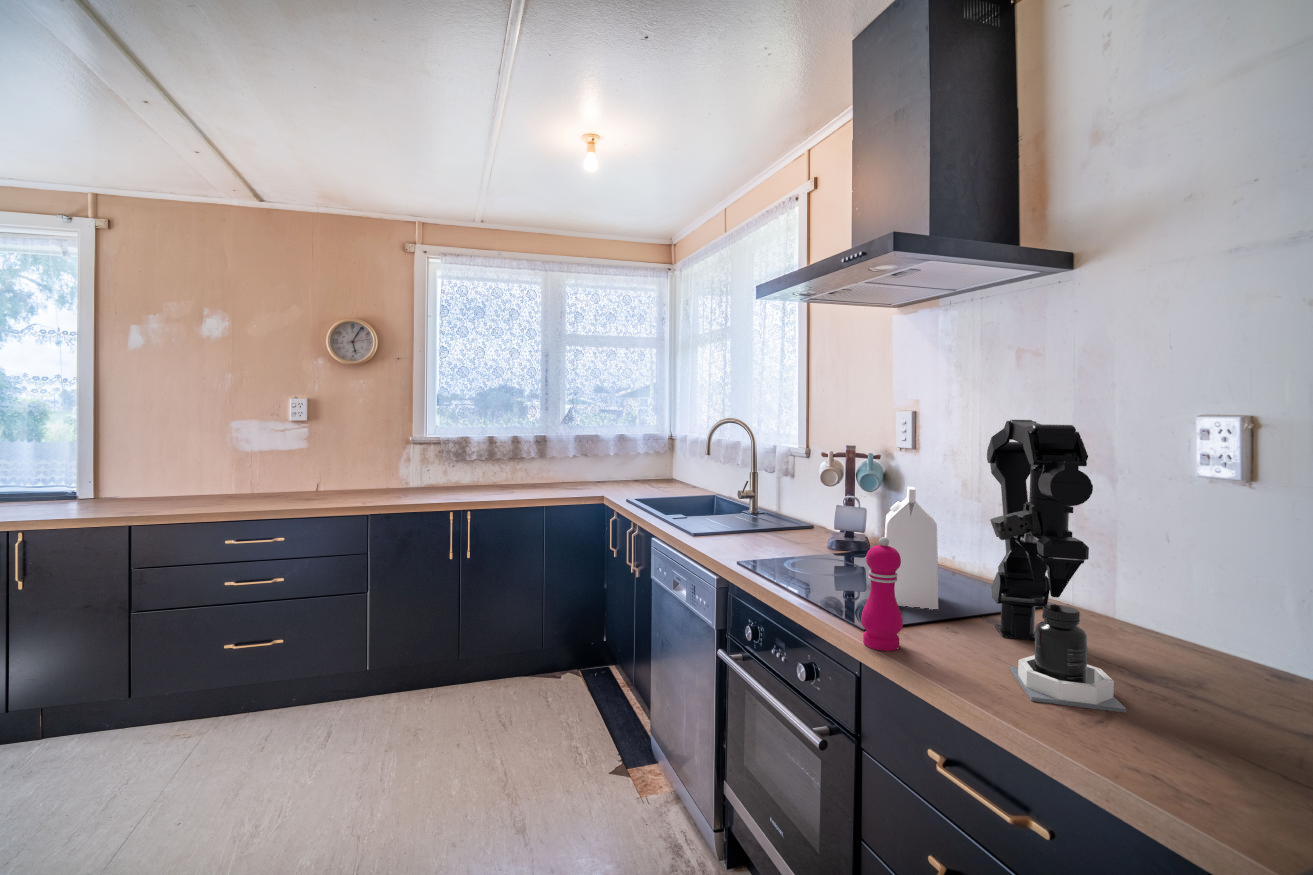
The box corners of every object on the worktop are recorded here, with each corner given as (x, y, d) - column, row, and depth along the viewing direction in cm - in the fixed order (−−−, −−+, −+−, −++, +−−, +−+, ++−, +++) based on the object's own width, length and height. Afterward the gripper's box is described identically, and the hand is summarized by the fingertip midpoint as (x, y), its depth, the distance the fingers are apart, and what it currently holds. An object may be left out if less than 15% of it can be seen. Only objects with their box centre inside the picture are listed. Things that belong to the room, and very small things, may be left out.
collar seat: (1009, 669, 103) (1010, 651, 103) (1093, 679, 99) (1093, 660, 99) (1031, 700, 91) (1032, 680, 91) (1126, 712, 88) (1127, 691, 88)
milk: (938, 609, 135) (941, 492, 134) (882, 604, 139) (885, 489, 138) (932, 595, 147) (936, 486, 146) (881, 590, 150) (884, 484, 149)
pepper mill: (852, 640, 115) (854, 534, 115) (883, 636, 118) (886, 532, 117) (878, 654, 109) (881, 541, 108) (910, 649, 111) (914, 539, 111)
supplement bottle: (1081, 680, 97) (1084, 605, 97) (1090, 698, 91) (1093, 618, 91) (1030, 672, 100) (1033, 599, 100) (1036, 688, 94) (1039, 611, 94)
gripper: (983, 490, 115) (981, 572, 116) (1010, 502, 97) (1007, 600, 98) (1051, 493, 112) (1048, 578, 113) (1091, 506, 94) (1088, 607, 95)
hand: (1045, 589), depth 105 cm, fingers open, 9 cm apart
